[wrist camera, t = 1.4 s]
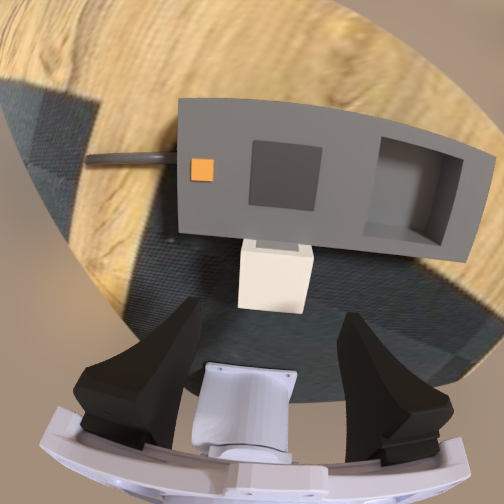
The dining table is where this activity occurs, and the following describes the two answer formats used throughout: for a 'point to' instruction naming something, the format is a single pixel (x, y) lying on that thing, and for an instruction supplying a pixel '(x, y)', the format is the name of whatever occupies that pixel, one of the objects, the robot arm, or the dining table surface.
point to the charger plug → (274, 275)
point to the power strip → (322, 178)
